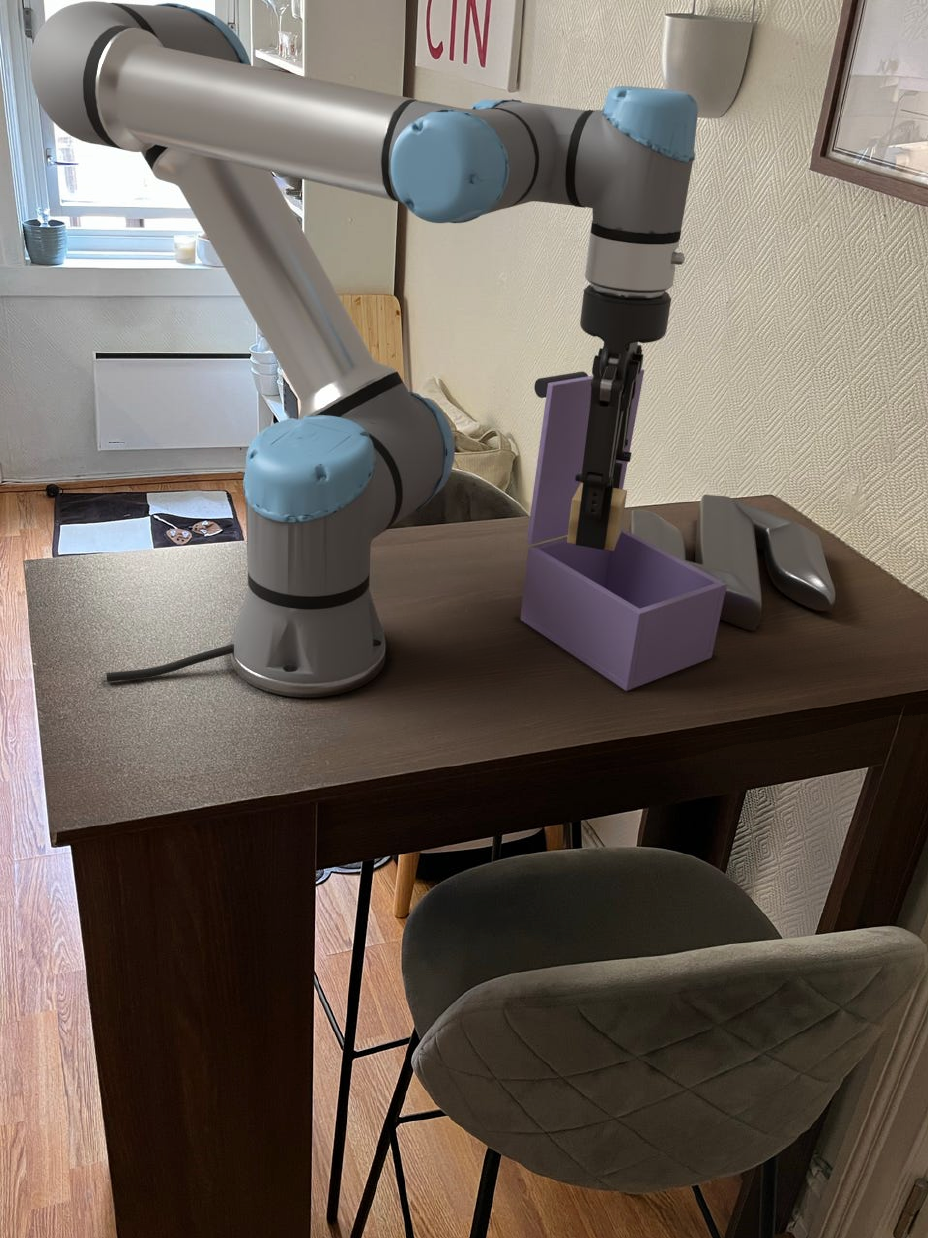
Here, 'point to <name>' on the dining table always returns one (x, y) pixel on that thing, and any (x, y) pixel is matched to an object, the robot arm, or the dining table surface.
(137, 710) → the dining table surface
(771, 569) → the emblem
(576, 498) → the beech block
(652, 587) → the box
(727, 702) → the dining table surface
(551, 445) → the file box lid
